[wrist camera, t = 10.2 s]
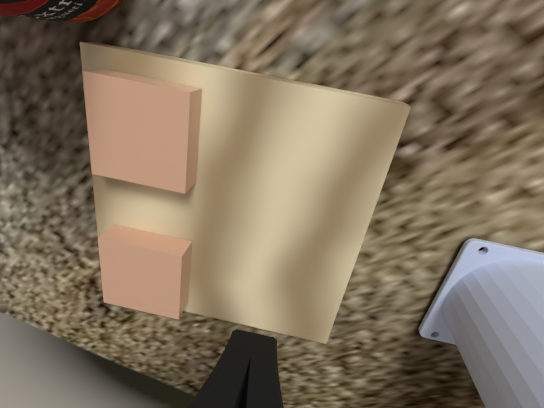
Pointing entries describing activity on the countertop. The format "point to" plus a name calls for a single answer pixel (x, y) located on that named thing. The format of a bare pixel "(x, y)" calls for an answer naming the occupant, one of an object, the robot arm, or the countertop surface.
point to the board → (262, 190)
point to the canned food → (58, 9)
